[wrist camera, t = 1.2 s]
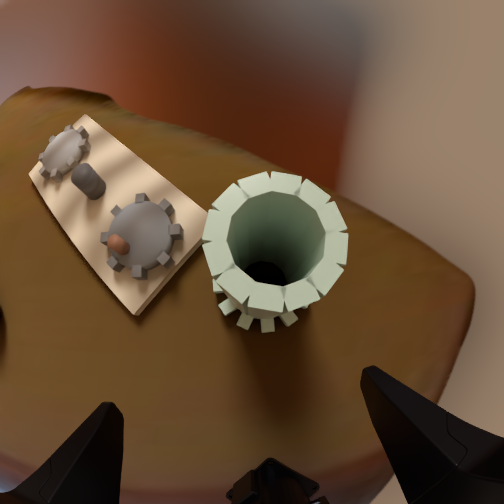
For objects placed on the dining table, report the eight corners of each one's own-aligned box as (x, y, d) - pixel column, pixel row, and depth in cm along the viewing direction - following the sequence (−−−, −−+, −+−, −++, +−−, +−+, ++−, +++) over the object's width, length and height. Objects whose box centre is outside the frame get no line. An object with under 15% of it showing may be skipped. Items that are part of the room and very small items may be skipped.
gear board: (218, 225, 25) (211, 203, 21) (138, 315, 23) (115, 312, 18) (88, 119, 29) (74, 97, 25) (33, 177, 27) (13, 161, 23)
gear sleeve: (327, 277, 24) (399, 227, 11) (269, 351, 22) (291, 380, 10) (257, 221, 25) (263, 126, 13) (196, 289, 24) (140, 247, 11)
